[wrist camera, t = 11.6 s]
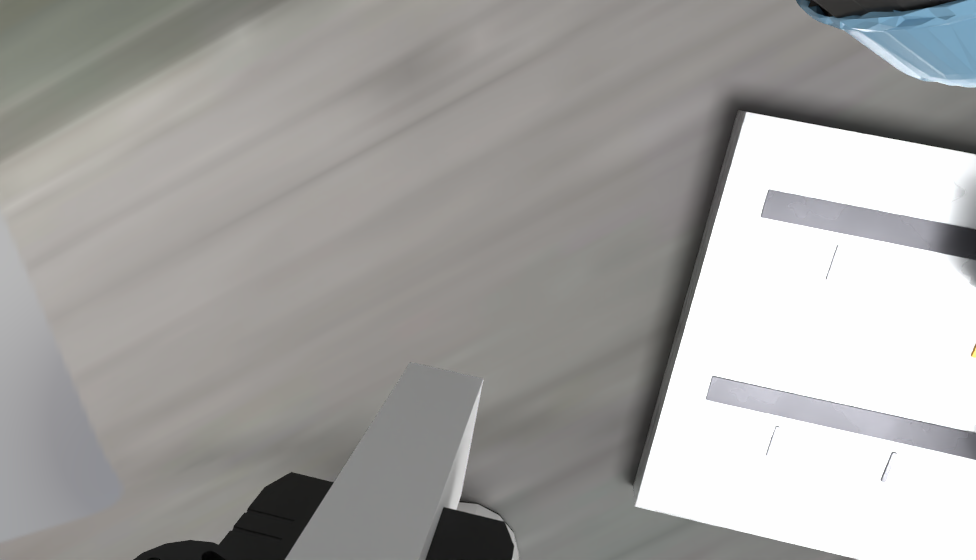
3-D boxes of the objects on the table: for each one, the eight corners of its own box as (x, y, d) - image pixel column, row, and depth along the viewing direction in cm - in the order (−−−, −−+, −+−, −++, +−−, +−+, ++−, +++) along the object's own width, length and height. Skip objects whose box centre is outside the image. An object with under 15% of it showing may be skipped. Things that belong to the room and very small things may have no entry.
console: (737, 110, 34) (746, 112, 32) (1254, 205, 32) (1298, 214, 30) (633, 486, 41) (635, 507, 39) (1056, 585, 39) (1082, 613, 37)
